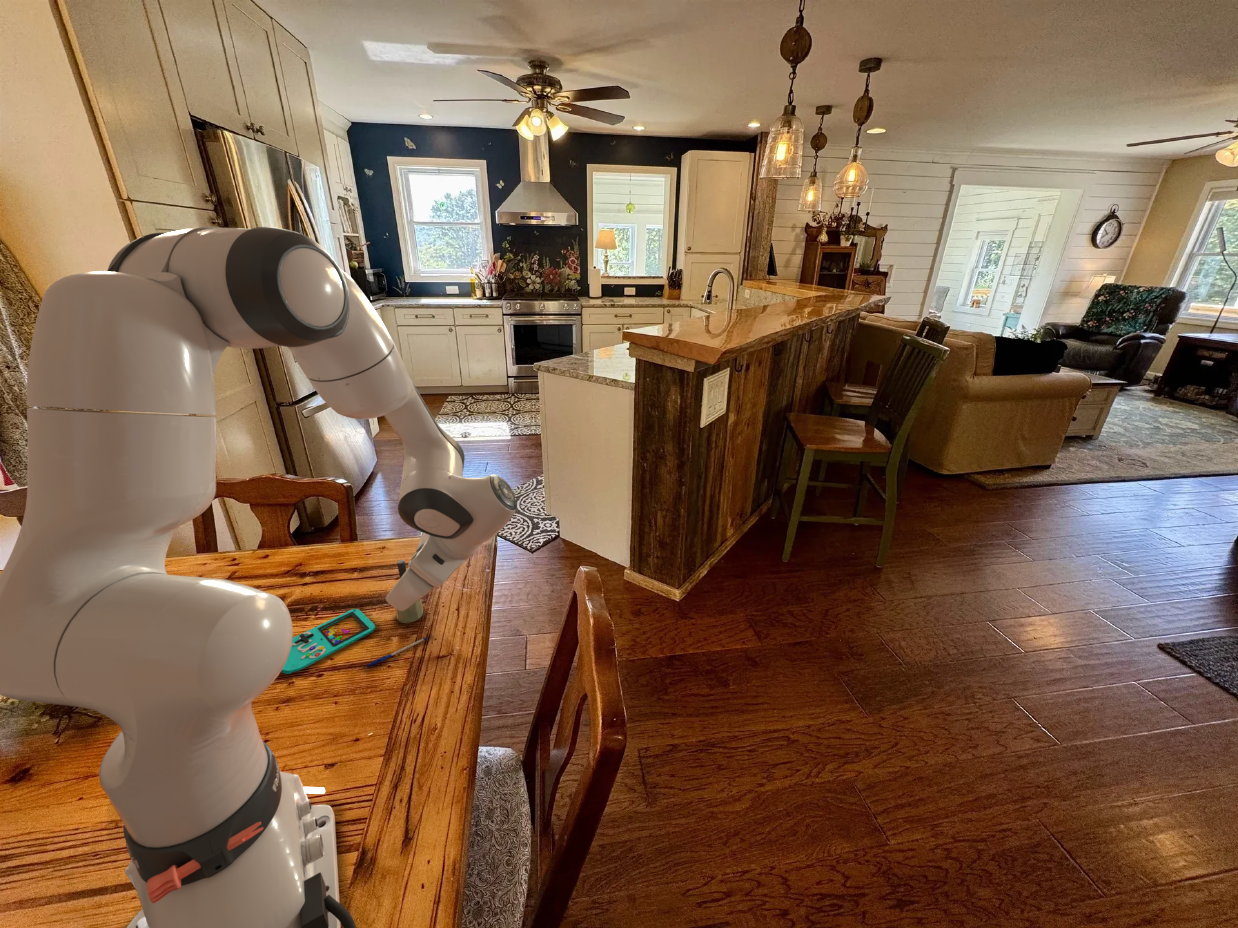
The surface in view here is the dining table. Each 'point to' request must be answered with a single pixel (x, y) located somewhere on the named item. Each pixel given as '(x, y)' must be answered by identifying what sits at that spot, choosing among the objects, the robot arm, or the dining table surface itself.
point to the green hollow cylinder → (410, 613)
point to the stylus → (401, 567)
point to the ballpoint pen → (393, 653)
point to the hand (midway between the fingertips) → (402, 586)
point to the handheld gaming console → (323, 642)
